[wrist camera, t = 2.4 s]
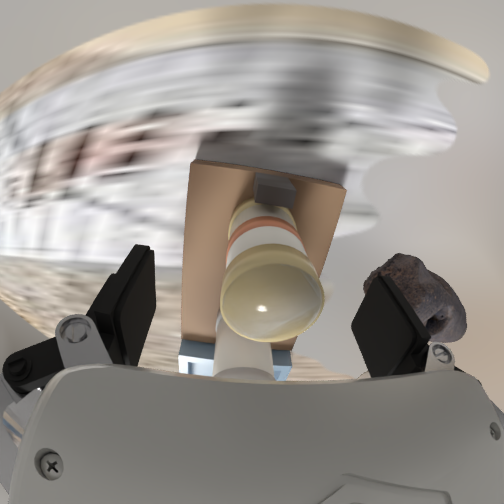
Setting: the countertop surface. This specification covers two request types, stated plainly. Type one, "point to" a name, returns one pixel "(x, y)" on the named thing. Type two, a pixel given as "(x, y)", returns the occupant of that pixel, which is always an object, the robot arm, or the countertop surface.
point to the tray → (202, 358)
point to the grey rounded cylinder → (240, 355)
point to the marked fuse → (268, 276)
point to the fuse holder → (217, 226)
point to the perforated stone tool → (426, 297)
